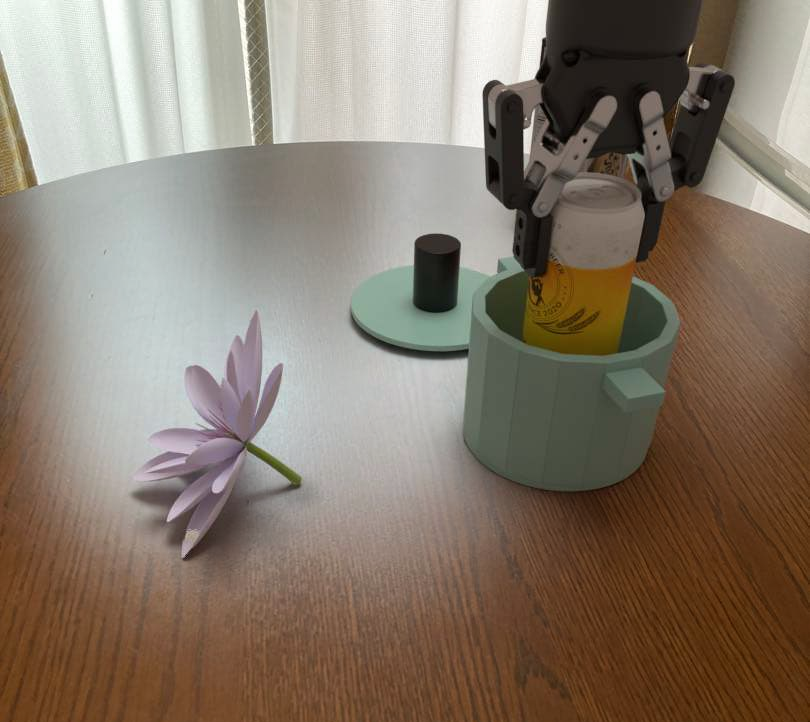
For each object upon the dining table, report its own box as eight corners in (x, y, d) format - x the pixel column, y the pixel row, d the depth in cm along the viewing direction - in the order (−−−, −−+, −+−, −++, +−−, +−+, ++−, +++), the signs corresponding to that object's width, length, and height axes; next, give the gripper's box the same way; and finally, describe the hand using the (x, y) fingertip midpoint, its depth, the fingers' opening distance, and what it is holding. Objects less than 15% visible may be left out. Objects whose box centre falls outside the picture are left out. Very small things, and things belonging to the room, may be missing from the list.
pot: (576, 353, 71) (596, 235, 65) (706, 495, 59) (747, 366, 52) (423, 380, 68) (428, 258, 61) (526, 536, 55) (546, 403, 49)
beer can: (498, 396, 63) (521, 177, 53) (574, 379, 65) (610, 164, 55) (542, 446, 59) (575, 219, 49) (622, 425, 61) (670, 202, 51)
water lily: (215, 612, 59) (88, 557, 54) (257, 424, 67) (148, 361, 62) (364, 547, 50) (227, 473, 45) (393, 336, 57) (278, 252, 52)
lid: (479, 267, 82) (484, 199, 77) (546, 342, 72) (556, 270, 68) (331, 288, 78) (328, 218, 74) (381, 370, 69) (381, 295, 65)
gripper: (531, -46, 39) (497, 311, 50) (812, -60, 43) (721, 275, 54) (465, -77, 44) (448, 253, 56) (721, -87, 48) (655, 224, 59)
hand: (583, 263), depth 55 cm, fingers closed on beer can, 6 cm apart
